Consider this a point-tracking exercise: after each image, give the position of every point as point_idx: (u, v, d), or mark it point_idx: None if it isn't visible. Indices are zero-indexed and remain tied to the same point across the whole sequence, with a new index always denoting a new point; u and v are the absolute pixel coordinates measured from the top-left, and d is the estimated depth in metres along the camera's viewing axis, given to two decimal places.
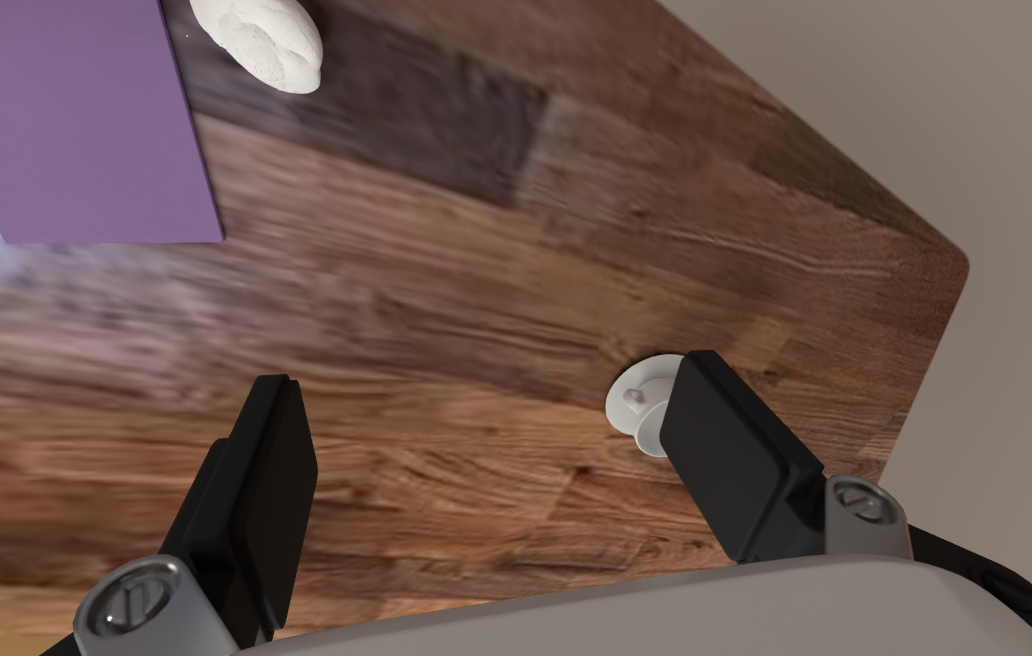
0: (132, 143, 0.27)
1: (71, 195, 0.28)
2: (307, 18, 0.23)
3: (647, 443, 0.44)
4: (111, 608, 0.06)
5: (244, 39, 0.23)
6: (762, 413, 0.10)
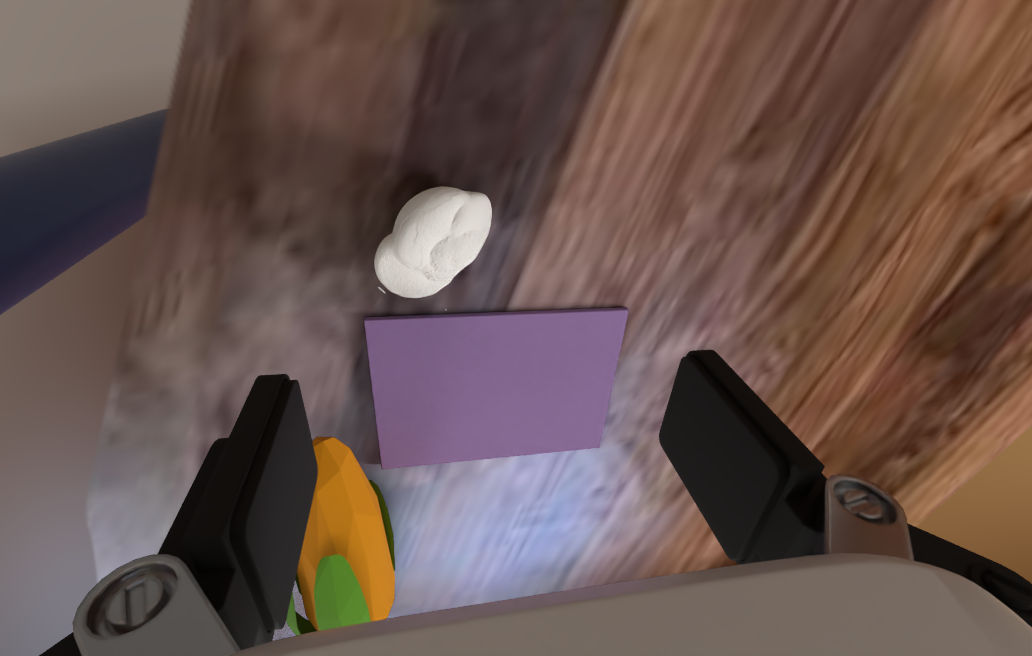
0: (532, 359, 0.30)
1: (569, 405, 0.33)
2: (419, 200, 0.21)
3: None
4: (111, 608, 0.06)
5: (445, 263, 0.23)
6: (762, 413, 0.10)
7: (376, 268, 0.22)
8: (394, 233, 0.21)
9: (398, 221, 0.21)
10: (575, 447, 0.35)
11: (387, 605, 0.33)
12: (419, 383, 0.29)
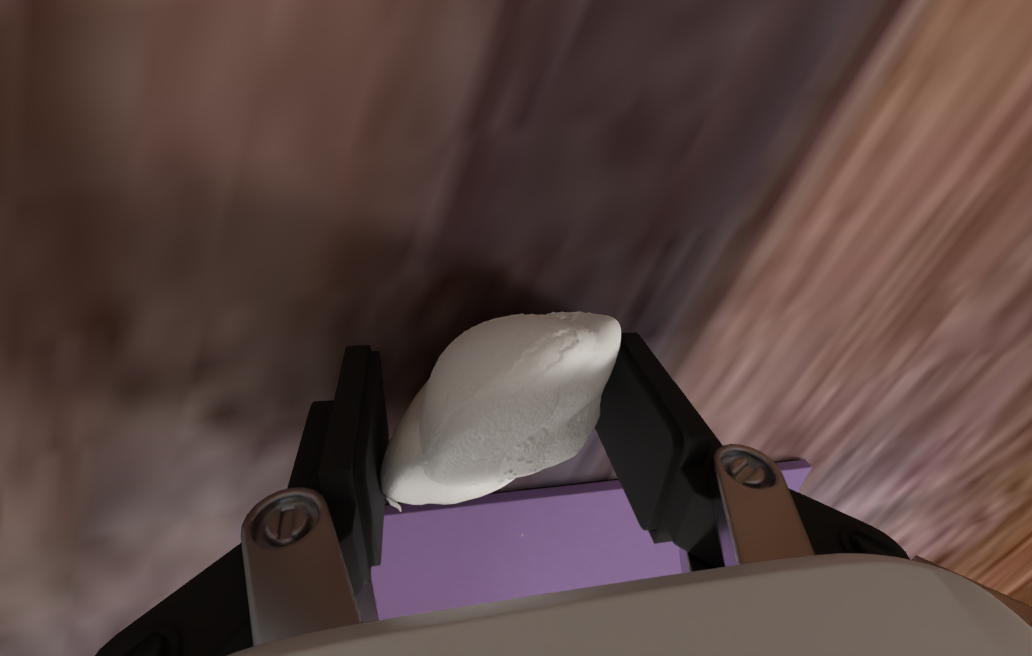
0: (643, 543, 0.18)
1: None
2: (488, 363, 0.09)
3: None
4: (267, 528, 0.07)
5: (531, 470, 0.10)
6: (668, 389, 0.10)
7: (384, 490, 0.10)
8: (426, 432, 0.09)
9: (436, 406, 0.09)
10: None
11: None
12: (455, 591, 0.17)
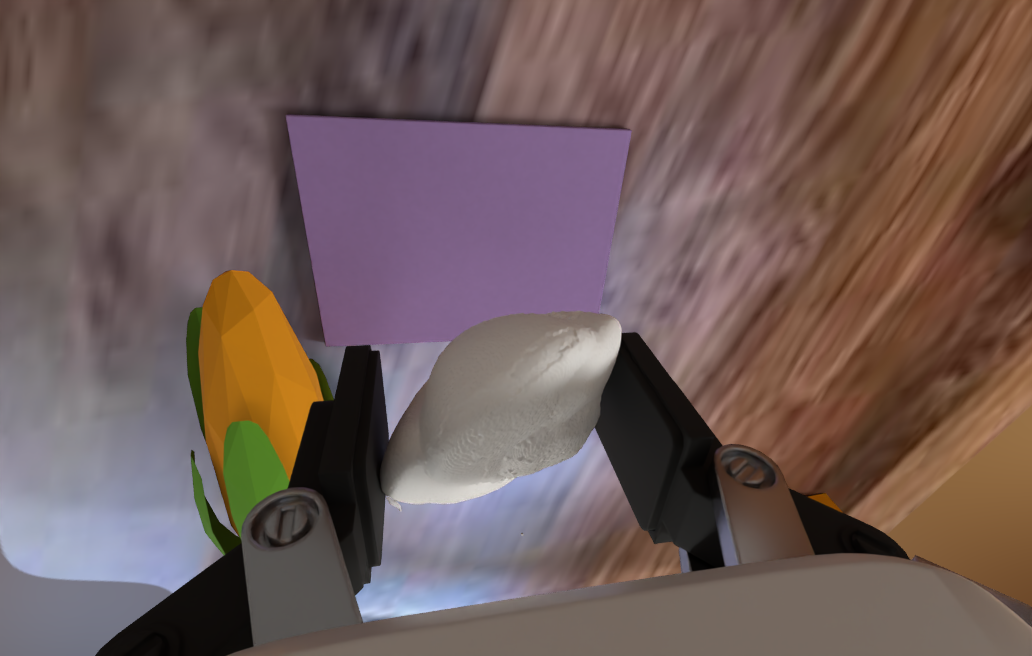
0: (509, 195, 0.24)
1: (557, 269, 0.27)
2: (488, 362, 0.09)
3: None
4: (267, 528, 0.07)
5: (531, 470, 0.10)
6: (668, 389, 0.10)
7: (384, 489, 0.10)
8: (426, 431, 0.09)
9: (435, 405, 0.09)
10: None
11: None
12: (365, 221, 0.23)
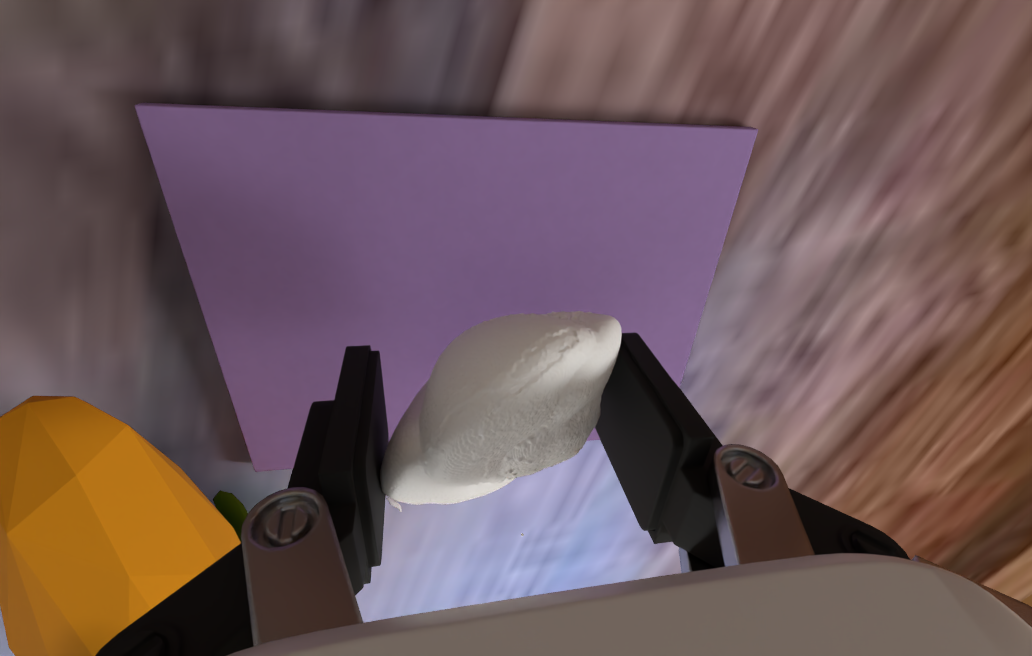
0: (548, 240, 0.14)
1: None
2: (488, 362, 0.09)
3: None
4: (267, 528, 0.07)
5: (531, 470, 0.10)
6: (668, 389, 0.10)
7: (384, 489, 0.10)
8: (426, 431, 0.09)
9: (435, 405, 0.09)
10: None
11: None
12: (304, 288, 0.14)
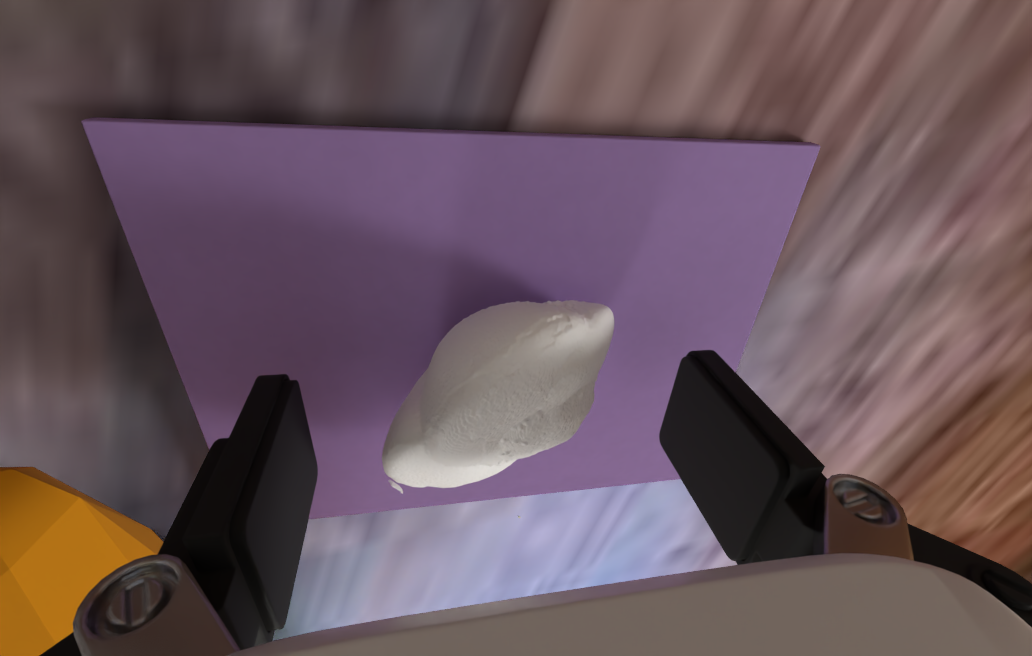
0: (574, 272, 0.12)
1: (648, 389, 0.15)
2: (485, 346, 0.09)
3: None
4: (111, 608, 0.06)
5: (527, 452, 0.11)
6: (762, 413, 0.10)
7: (386, 470, 0.10)
8: (426, 412, 0.10)
9: (435, 387, 0.09)
10: (650, 477, 0.17)
11: None
12: (291, 329, 0.12)
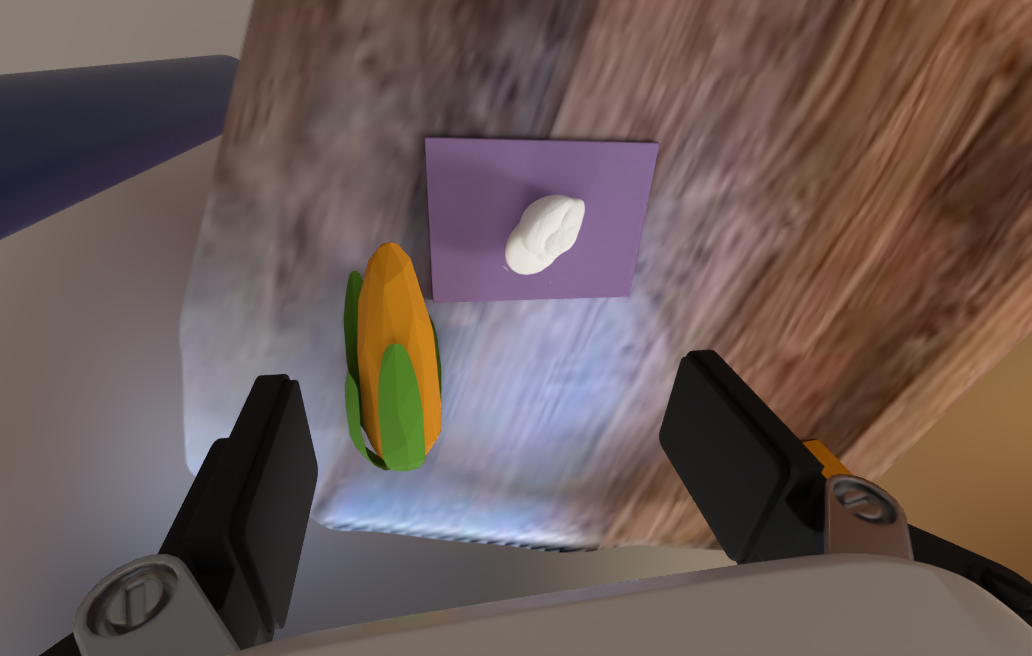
0: (570, 191, 0.33)
1: (603, 245, 0.36)
2: (542, 204, 0.30)
3: None
4: (111, 608, 0.06)
5: (554, 249, 0.32)
6: (762, 413, 0.10)
7: (507, 252, 0.32)
8: (523, 227, 0.31)
9: (526, 219, 0.31)
10: (607, 294, 0.38)
11: (436, 428, 0.37)
12: (469, 210, 0.33)
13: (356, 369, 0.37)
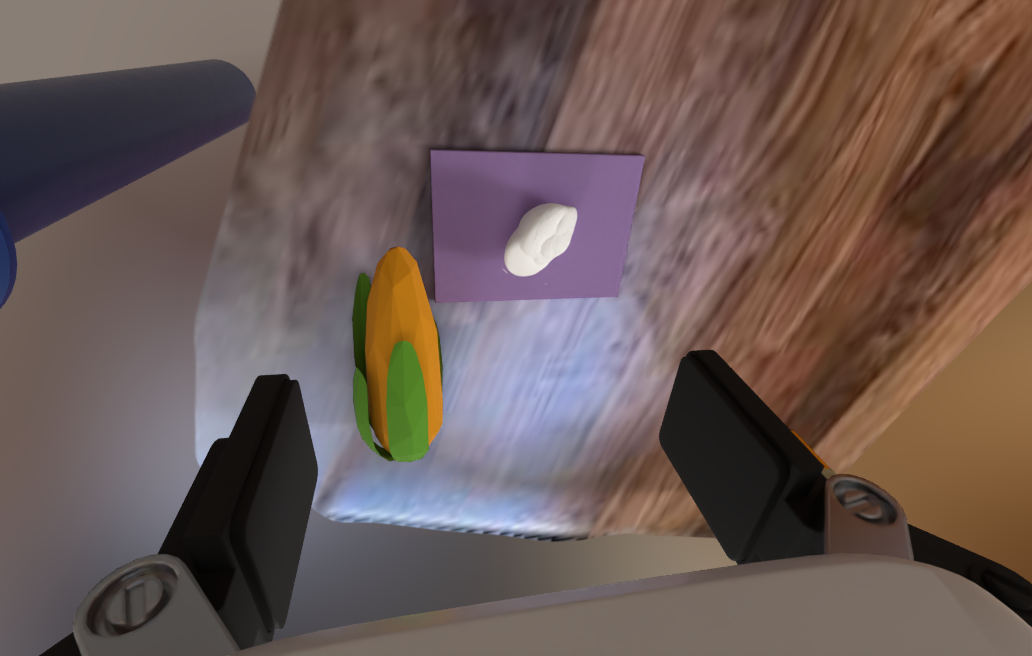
0: (564, 199, 0.36)
1: (593, 249, 0.39)
2: (539, 212, 0.33)
3: None
4: (111, 608, 0.06)
5: (549, 252, 0.35)
6: (762, 413, 0.10)
7: (506, 255, 0.34)
8: (521, 233, 0.33)
9: (524, 225, 0.33)
10: (597, 294, 0.41)
11: (438, 421, 0.40)
12: (471, 216, 0.35)
13: (362, 366, 0.40)
